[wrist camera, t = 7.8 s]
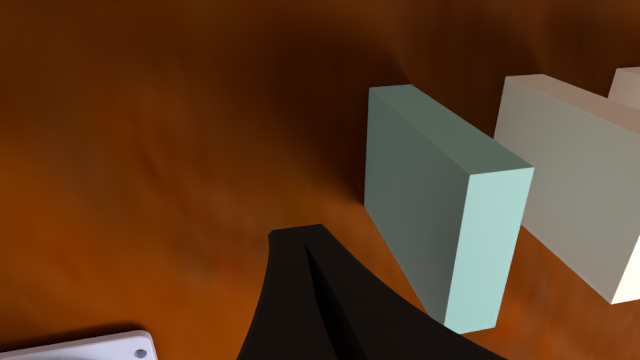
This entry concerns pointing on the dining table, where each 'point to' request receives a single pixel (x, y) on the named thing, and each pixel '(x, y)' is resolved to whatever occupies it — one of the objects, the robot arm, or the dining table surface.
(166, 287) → the dining table surface
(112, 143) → the dining table surface
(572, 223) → the domino
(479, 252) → the domino teal
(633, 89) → the domino
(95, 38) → the dining table surface
